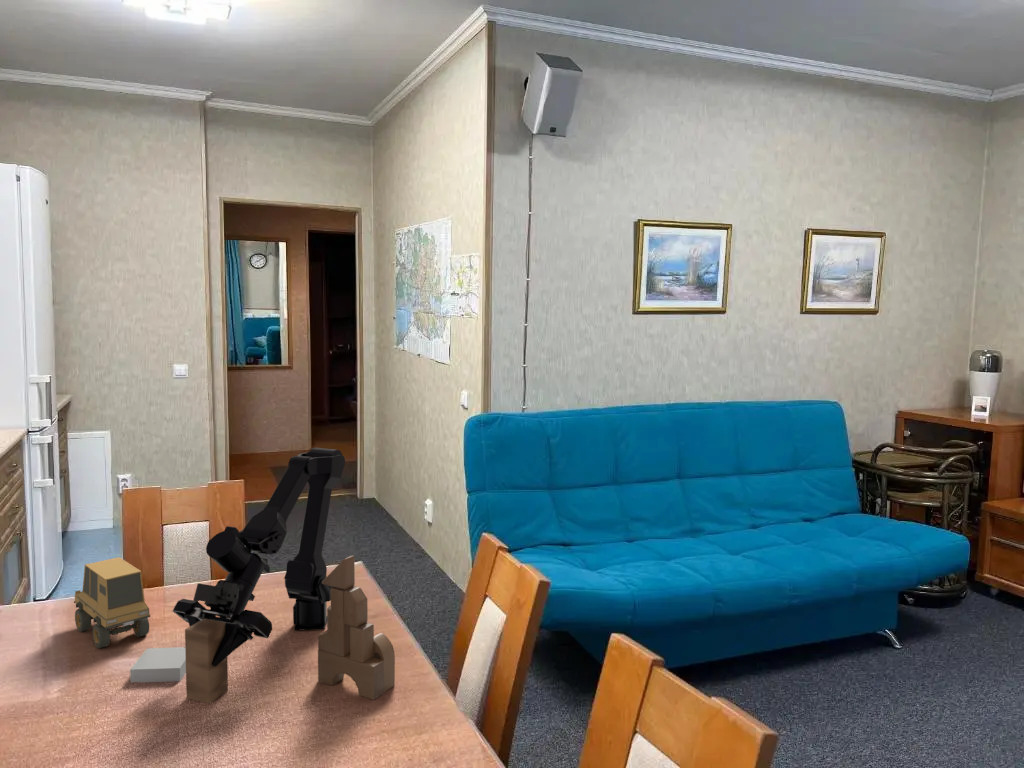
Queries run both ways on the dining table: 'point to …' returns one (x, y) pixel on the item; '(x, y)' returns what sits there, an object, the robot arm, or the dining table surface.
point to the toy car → (111, 600)
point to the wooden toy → (353, 639)
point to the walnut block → (205, 661)
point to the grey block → (160, 665)
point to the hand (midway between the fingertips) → (200, 663)
